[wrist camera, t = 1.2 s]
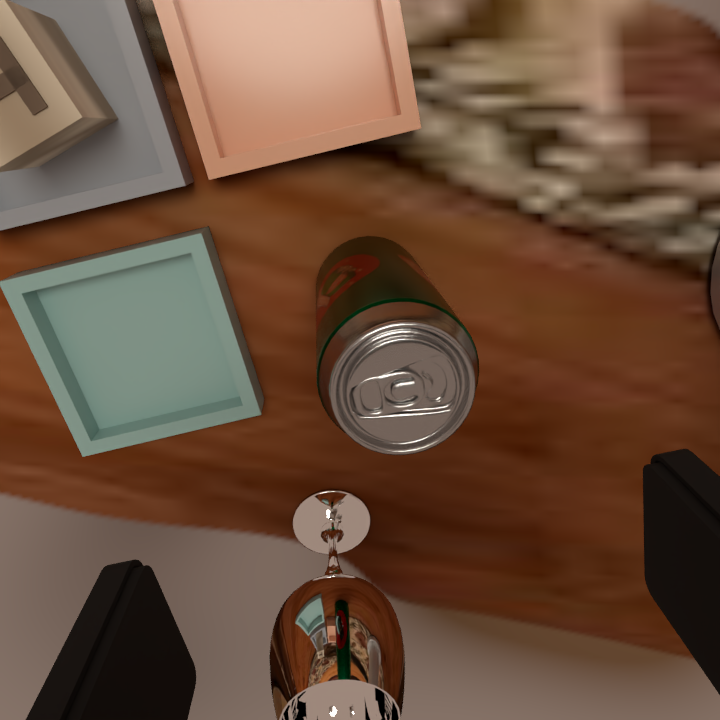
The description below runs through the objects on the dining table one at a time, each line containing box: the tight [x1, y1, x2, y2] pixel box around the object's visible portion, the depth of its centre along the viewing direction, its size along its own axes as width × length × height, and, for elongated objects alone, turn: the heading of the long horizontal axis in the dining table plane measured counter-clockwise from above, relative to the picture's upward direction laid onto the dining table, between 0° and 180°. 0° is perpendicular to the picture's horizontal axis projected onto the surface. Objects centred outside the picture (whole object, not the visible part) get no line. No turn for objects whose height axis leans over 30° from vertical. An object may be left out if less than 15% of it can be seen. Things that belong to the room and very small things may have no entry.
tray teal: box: [0, 226, 264, 457], centre depth 27 cm, size 9×9×2 cm
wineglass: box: [269, 490, 405, 720], centre depth 27 cm, size 6×6×12 cm
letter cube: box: [0, 0, 118, 172], centre depth 21 cm, size 4×4×4 cm
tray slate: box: [0, 0, 194, 231], centre depth 23 cm, size 9×9×2 cm
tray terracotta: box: [153, 0, 421, 180], centre depth 23 cm, size 9×9×2 cm
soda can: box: [316, 236, 479, 455], centre depth 22 cm, size 5×5×12 cm
